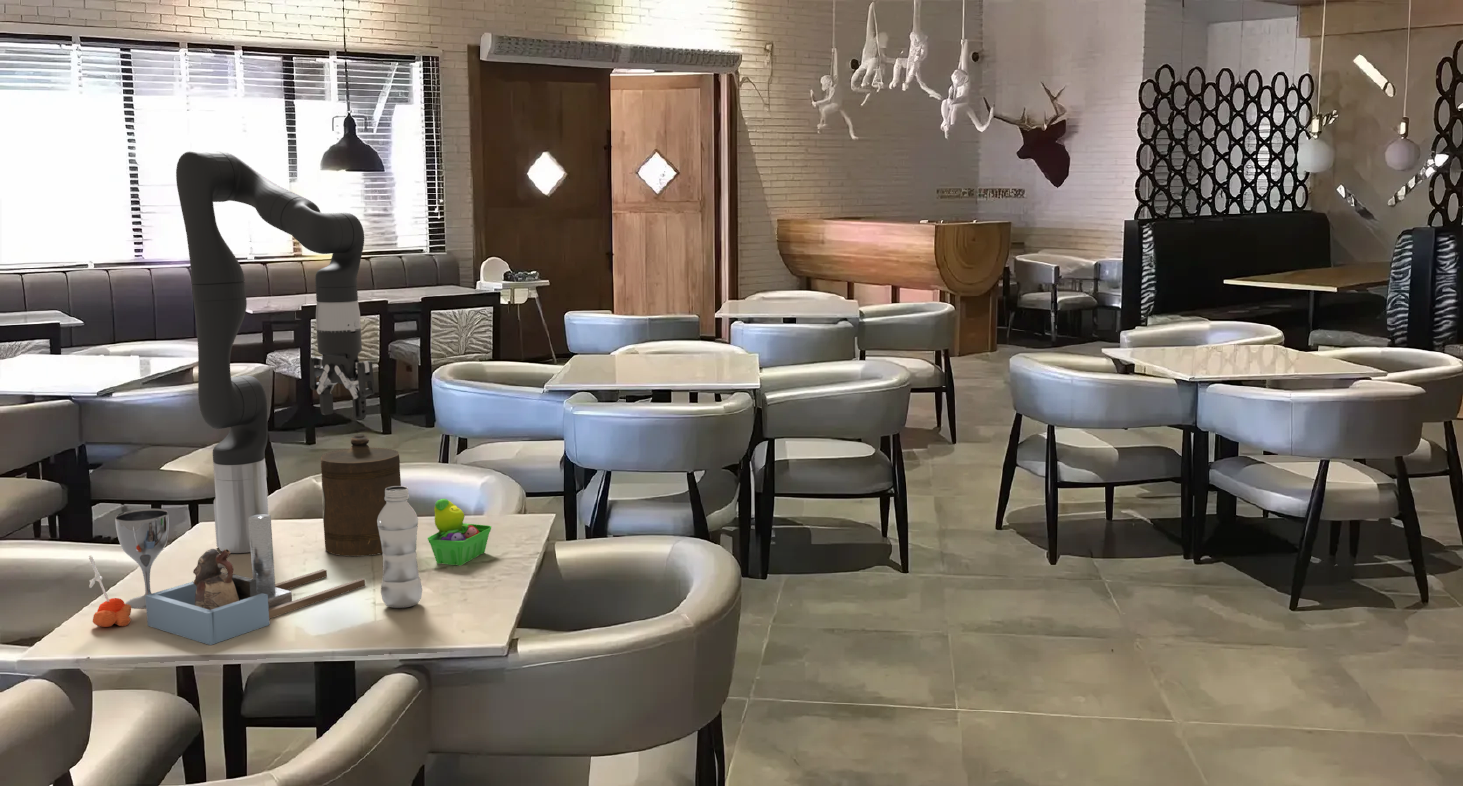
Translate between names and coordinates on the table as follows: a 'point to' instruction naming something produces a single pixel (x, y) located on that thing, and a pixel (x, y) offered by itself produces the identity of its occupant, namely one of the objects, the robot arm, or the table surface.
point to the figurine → (214, 580)
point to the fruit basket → (456, 536)
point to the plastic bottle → (399, 550)
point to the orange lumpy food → (109, 606)
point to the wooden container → (356, 496)
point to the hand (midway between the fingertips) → (343, 416)
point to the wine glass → (143, 541)
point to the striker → (261, 565)
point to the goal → (204, 615)
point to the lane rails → (314, 597)
